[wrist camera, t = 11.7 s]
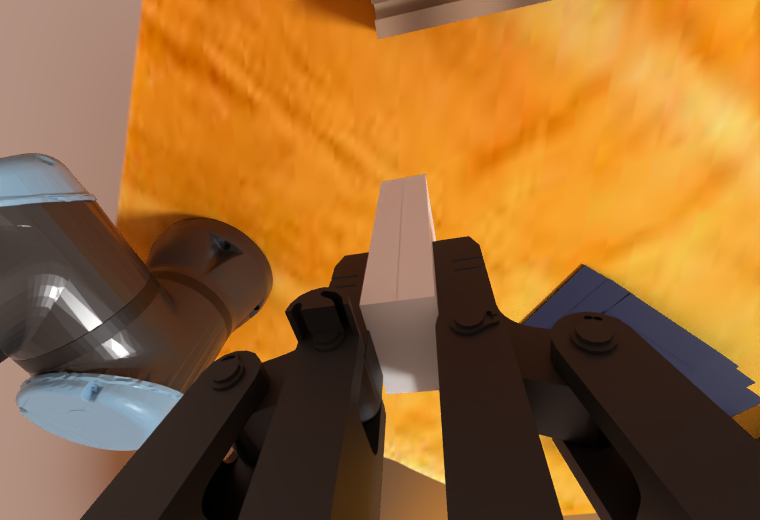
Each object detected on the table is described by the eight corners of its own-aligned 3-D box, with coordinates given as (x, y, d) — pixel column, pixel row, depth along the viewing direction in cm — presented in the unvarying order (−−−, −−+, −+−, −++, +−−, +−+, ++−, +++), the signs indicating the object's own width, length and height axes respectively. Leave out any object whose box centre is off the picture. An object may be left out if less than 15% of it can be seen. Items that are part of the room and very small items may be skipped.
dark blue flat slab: (613, 457, 62) (620, 478, 59) (459, 363, 59) (458, 381, 56) (767, 376, 50) (786, 398, 46) (581, 251, 47) (588, 267, 43)
